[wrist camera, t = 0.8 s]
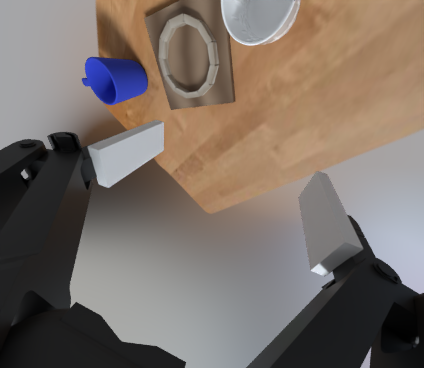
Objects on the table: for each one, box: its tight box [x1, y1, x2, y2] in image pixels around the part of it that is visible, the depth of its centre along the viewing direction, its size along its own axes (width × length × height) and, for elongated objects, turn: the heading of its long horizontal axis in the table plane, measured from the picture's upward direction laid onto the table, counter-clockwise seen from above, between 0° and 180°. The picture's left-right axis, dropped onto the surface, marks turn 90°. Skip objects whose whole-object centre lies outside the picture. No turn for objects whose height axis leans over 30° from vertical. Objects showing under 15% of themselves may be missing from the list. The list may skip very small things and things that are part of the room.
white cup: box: [221, 0, 300, 45], centre depth 20 cm, size 8×8×10 cm
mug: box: [82, 57, 148, 105], centre depth 37 cm, size 8×12×10 cm
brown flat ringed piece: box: [144, 0, 235, 110], centre depth 31 cm, size 16×16×3 cm
